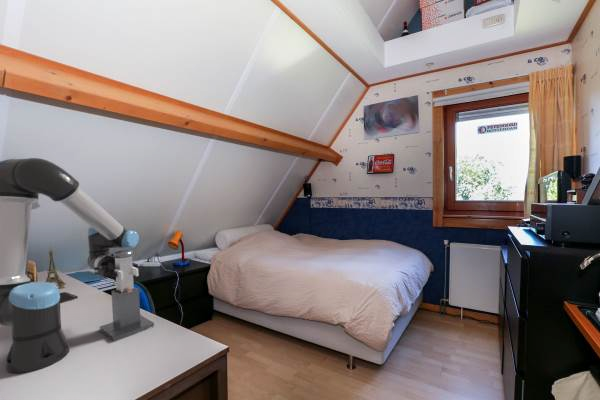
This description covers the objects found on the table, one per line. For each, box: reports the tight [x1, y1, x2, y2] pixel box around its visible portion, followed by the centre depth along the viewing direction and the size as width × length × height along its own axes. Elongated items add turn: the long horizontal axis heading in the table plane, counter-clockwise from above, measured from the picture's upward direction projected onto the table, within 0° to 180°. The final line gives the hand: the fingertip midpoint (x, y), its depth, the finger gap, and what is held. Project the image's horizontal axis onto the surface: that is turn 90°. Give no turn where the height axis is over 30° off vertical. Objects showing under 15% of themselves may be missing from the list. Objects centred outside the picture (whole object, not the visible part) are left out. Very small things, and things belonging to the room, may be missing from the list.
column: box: [112, 249, 135, 293], centre depth 113 cm, size 6×6×28 cm
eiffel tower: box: [45, 243, 67, 290], centre depth 165 cm, size 11×11×25 cm
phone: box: [59, 291, 78, 304], centre depth 149 cm, size 8×1×15 cm
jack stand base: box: [99, 286, 155, 342], centre depth 114 cm, size 14×14×16 cm
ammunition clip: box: [26, 259, 38, 283], centre depth 181 cm, size 11×2×12 cm, turn 57°
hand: (129, 274), depth 110 cm, fingers closed on column, 4 cm apart
